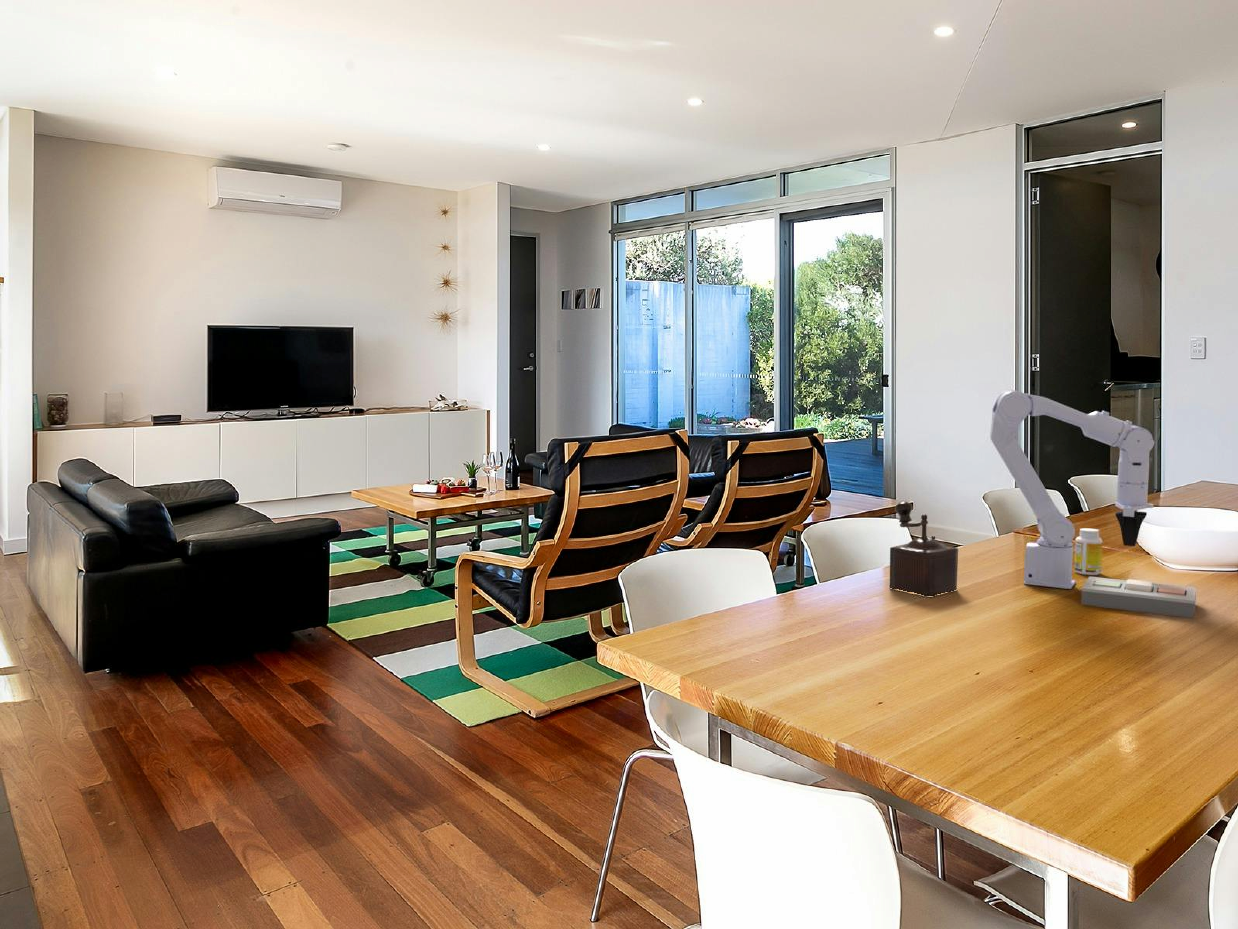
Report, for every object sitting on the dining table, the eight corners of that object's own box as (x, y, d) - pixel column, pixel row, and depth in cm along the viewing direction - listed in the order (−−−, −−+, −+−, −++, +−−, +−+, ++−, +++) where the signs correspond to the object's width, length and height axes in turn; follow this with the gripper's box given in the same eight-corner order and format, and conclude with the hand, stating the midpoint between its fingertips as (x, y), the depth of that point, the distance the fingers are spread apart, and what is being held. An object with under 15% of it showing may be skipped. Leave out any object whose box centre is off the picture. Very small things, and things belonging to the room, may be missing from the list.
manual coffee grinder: (960, 590, 195) (963, 507, 193) (929, 598, 189) (931, 512, 187) (900, 577, 208) (902, 499, 206) (868, 584, 201) (870, 504, 199)
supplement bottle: (1105, 573, 210) (1107, 529, 209) (1094, 577, 207) (1096, 532, 206) (1080, 569, 215) (1082, 526, 214) (1069, 572, 211) (1071, 529, 210)
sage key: (1093, 594, 185) (1094, 583, 185) (1096, 590, 189) (1096, 579, 188) (1118, 597, 183) (1118, 586, 182) (1120, 592, 186) (1120, 582, 186)
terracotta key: (1157, 601, 179) (1158, 590, 179) (1158, 597, 182) (1159, 586, 182) (1183, 604, 176) (1184, 593, 176) (1184, 600, 180) (1185, 589, 180)
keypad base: (1081, 604, 183) (1081, 588, 183) (1088, 592, 193) (1089, 576, 193) (1193, 618, 172) (1194, 600, 172) (1195, 604, 182) (1196, 587, 182)
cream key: (1125, 594, 182) (1125, 583, 182) (1127, 589, 185) (1127, 579, 185) (1150, 597, 179) (1151, 586, 179) (1152, 592, 183) (1152, 581, 183)
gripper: (1152, 487, 185) (1148, 553, 187) (1156, 480, 197) (1153, 541, 199) (1113, 485, 189) (1109, 549, 191) (1119, 478, 201) (1116, 538, 203)
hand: (1129, 545), depth 195 cm, fingers closed
